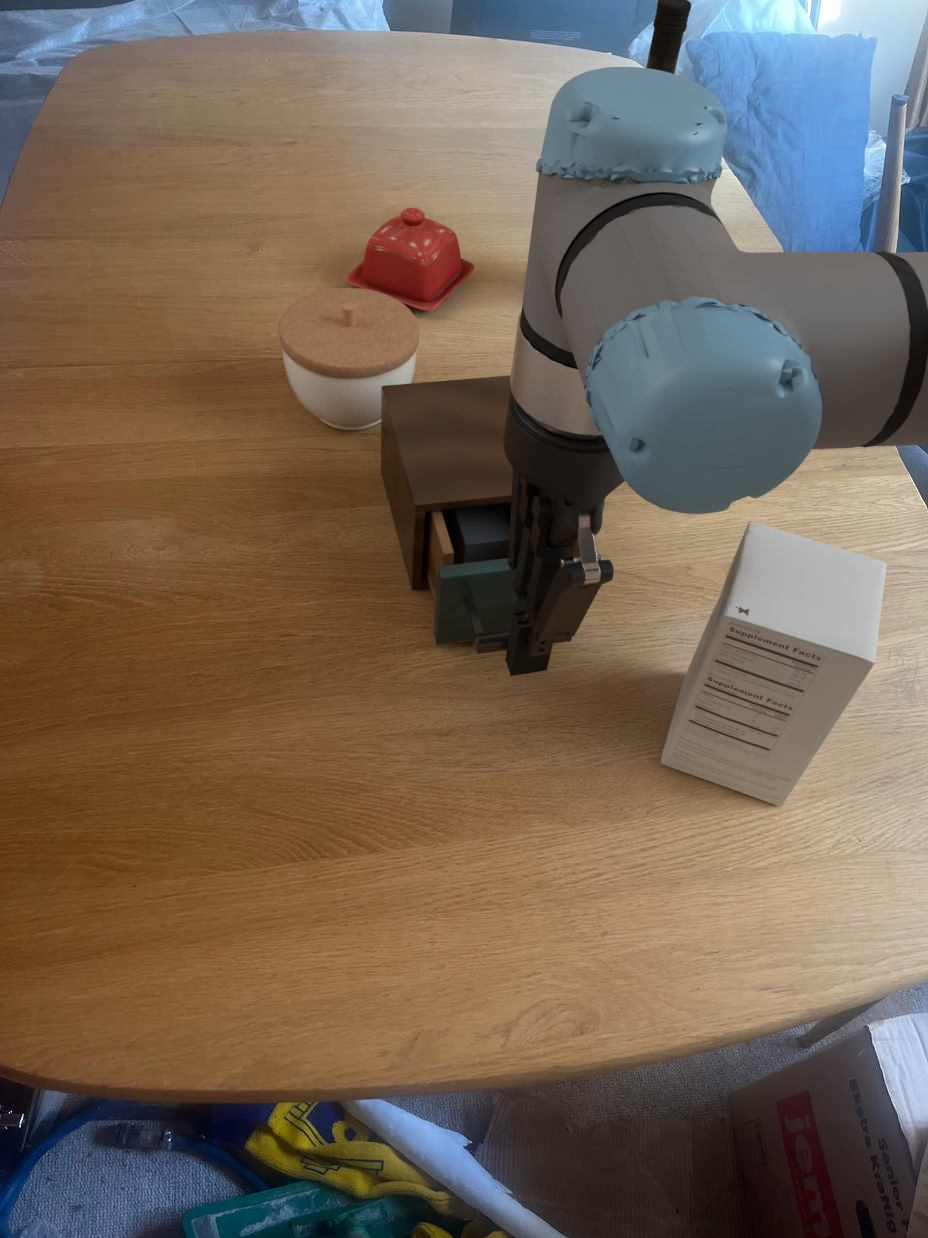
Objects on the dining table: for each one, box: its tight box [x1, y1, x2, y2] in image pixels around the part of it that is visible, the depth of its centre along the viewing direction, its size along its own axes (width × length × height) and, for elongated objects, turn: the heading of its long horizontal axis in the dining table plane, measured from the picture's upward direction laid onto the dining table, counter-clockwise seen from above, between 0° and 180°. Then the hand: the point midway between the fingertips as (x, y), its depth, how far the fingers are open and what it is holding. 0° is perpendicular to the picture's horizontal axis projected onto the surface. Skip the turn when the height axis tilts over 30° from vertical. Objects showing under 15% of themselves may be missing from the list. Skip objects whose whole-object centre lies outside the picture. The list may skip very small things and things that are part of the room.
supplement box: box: [660, 520, 888, 807], centre depth 65 cm, size 10×9×17 cm
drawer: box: [423, 502, 573, 655], centre depth 75 cm, size 18×10×8 cm, turn 13°
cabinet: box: [380, 374, 513, 591], centre depth 81 cm, size 15×12×10 cm
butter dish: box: [345, 207, 475, 312], centre depth 105 cm, size 12×12×8 cm
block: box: [451, 504, 510, 564], centre depth 77 cm, size 4×4×4 cm
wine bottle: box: [645, 0, 692, 75], centre depth 97 cm, size 6×6×30 cm
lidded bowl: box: [278, 287, 420, 431], centre depth 89 cm, size 13×13×11 cm
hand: (526, 665), depth 69 cm, fingers closed
